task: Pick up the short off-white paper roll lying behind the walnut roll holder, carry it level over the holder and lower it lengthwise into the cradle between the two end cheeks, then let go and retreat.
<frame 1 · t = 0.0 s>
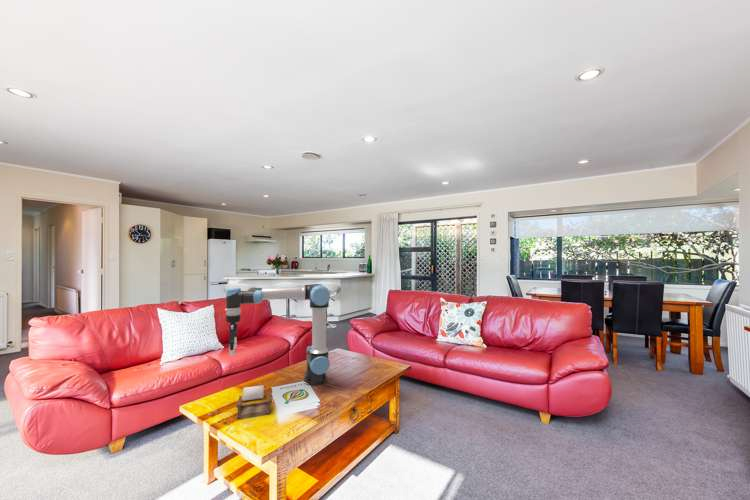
hand: (233, 351, 181), 28 cm above the table, fingers open, 13 cm apart
holder: (254, 411, 169), on the table
roll: (253, 392, 183), point 3 cm above the table
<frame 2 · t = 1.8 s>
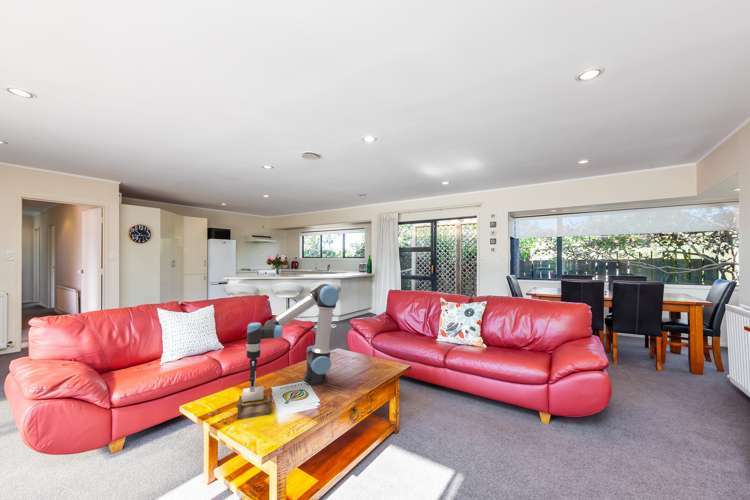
hand: (252, 386, 183), 7 cm above the table, fingers open, 13 cm apart
roll: (253, 393, 182), point 3 cm above the table, tilted 23°
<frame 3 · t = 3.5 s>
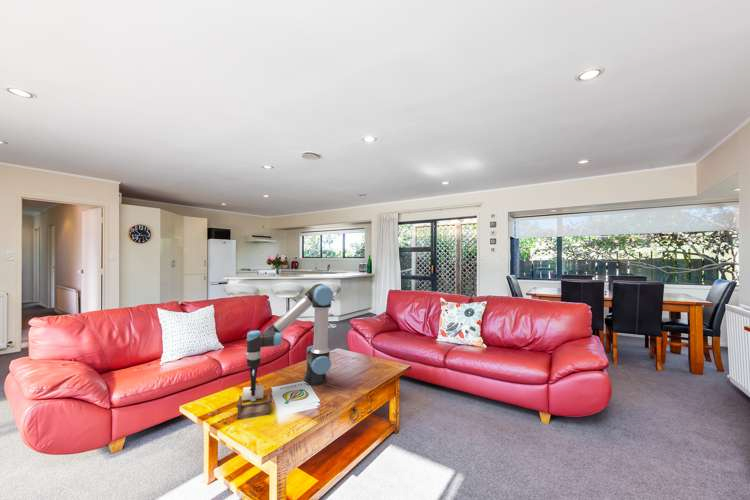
hand: (253, 397, 183), 1 cm above the table, fingers closed on roll, 7 cm apart
roll: (253, 392, 183), point 3 cm above the table, touching gripper
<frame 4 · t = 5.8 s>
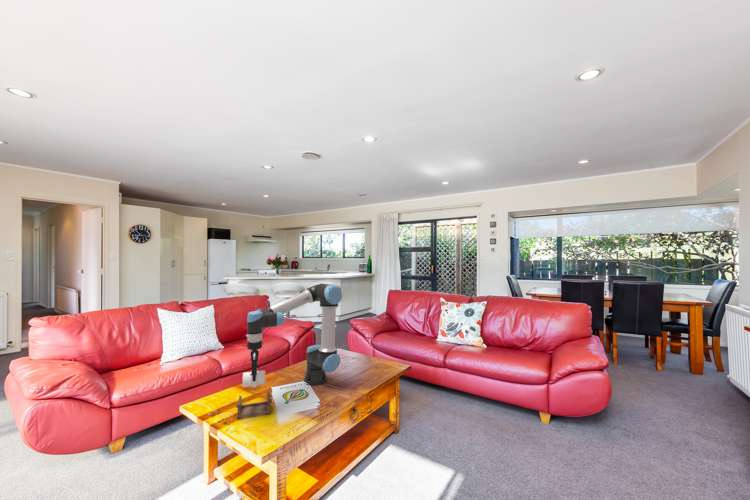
hand: (254, 383, 169), 15 cm above the table, fingers closed on roll, 7 cm apart
roll: (254, 378, 169), point 18 cm above the table, touching gripper
when the fingers open (4 cm above the table, at t = 8.5 s): roll drops 2 cm, resting on holder.
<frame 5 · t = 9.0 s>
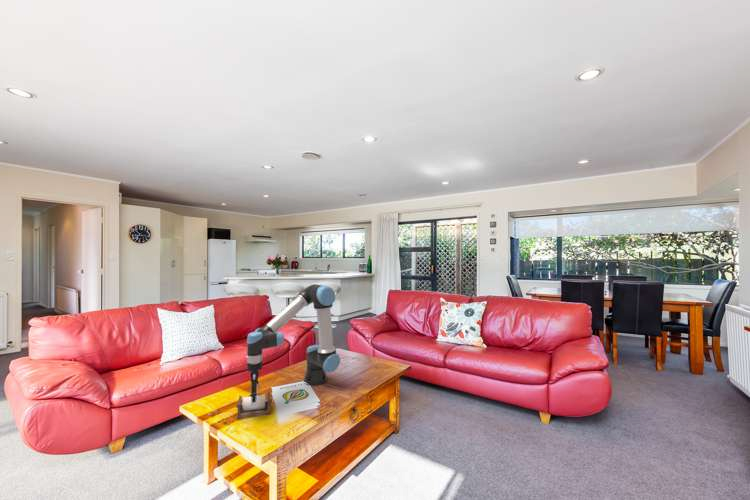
hand: (254, 402, 169), 5 cm above the table, fingers open, 13 cm apart
roll: (254, 403, 169), point 4 cm above the table, touching holder
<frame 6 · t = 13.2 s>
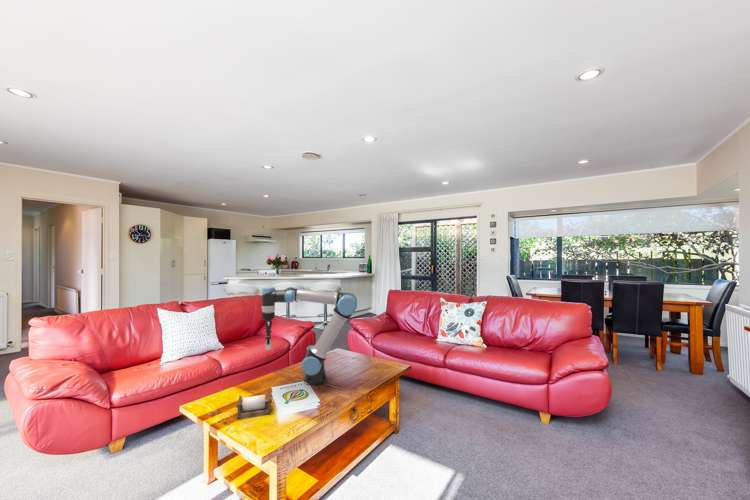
hand: (268, 346, 196), 27 cm above the table, fingers open, 13 cm apart
nothing on the table moved.
at the end: roll 0.1 cm off-centre on the holder, point 4.5 cm above the holder's base; the gripper is holding nothing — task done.
